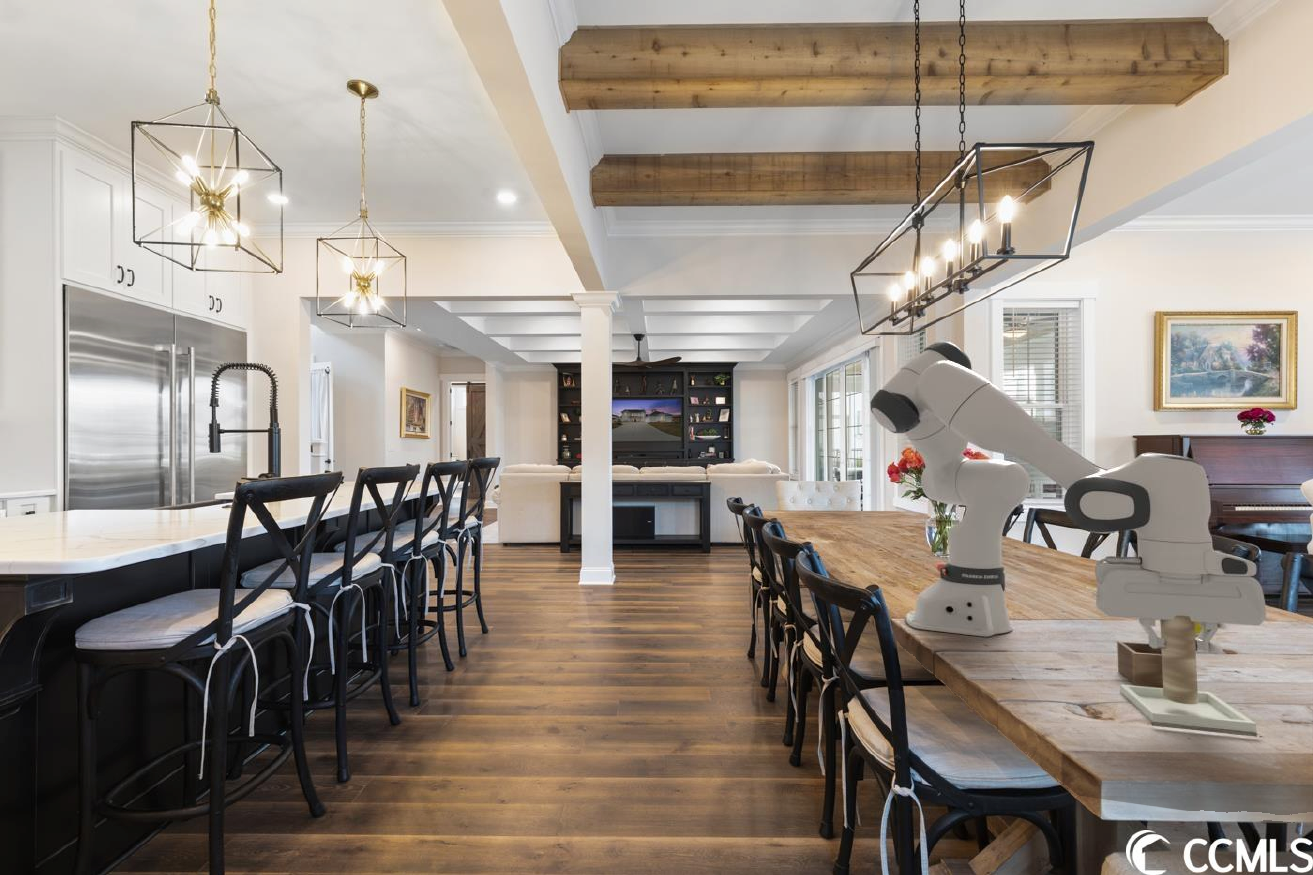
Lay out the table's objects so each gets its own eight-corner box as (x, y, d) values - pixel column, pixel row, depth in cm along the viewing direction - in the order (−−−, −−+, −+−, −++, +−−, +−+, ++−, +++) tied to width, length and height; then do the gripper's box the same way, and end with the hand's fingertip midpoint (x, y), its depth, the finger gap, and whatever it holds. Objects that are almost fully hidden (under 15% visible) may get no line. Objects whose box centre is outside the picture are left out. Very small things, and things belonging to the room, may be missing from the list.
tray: (1153, 725, 89) (1152, 713, 89) (1120, 695, 100) (1119, 684, 100) (1256, 736, 85) (1256, 723, 85) (1210, 703, 97) (1210, 692, 97)
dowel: (1170, 702, 92) (1166, 615, 92) (1158, 692, 95) (1155, 609, 96) (1203, 705, 90) (1199, 617, 91) (1190, 695, 94) (1186, 610, 95)
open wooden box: (1135, 689, 103) (1133, 653, 103) (1118, 674, 110) (1117, 641, 110) (1187, 693, 101) (1185, 657, 101) (1166, 678, 107) (1165, 644, 108)
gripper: (1101, 558, 94) (1105, 649, 94) (1270, 564, 87) (1275, 662, 87) (1087, 552, 100) (1091, 637, 100) (1244, 557, 93) (1249, 649, 93)
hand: (1178, 649), depth 93 cm, fingers closed on dowel, 4 cm apart
